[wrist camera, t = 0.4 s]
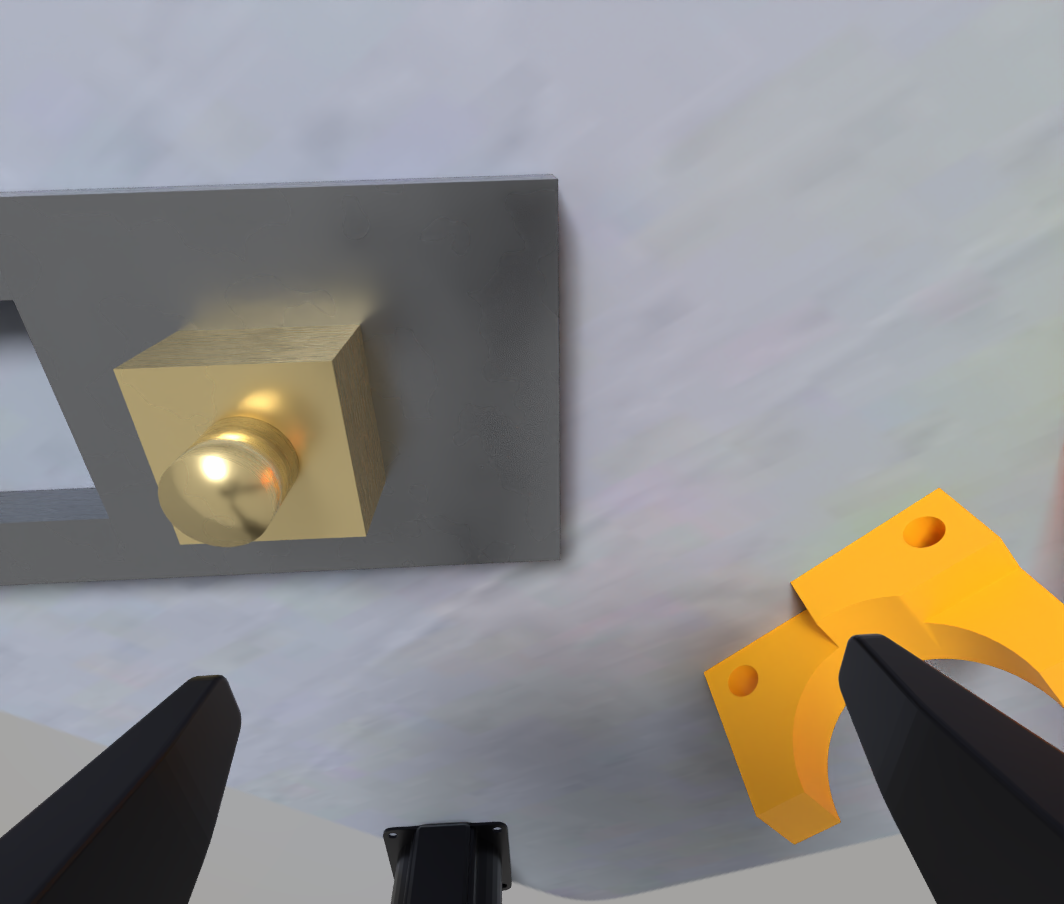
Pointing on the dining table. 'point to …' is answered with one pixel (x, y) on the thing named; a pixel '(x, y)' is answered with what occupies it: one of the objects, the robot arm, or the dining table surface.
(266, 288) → the dark grey slab
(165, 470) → the gold block with knob
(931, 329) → the dining table surface
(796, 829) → the pipe clamp
